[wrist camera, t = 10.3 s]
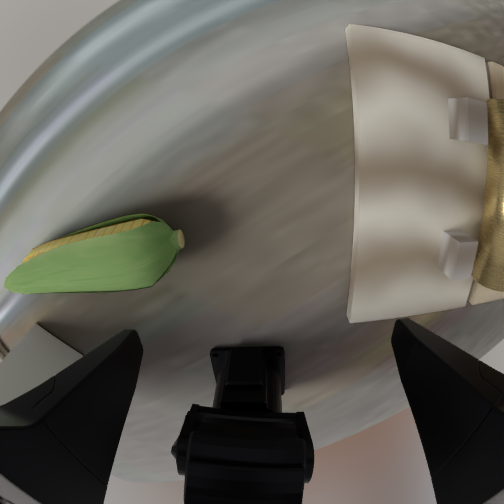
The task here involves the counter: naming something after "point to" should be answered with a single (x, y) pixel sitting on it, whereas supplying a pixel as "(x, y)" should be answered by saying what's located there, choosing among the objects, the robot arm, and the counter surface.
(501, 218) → the hinge pin
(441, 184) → the hinge leaves
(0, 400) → the milk carton
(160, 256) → the edible corn
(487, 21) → the counter surface
